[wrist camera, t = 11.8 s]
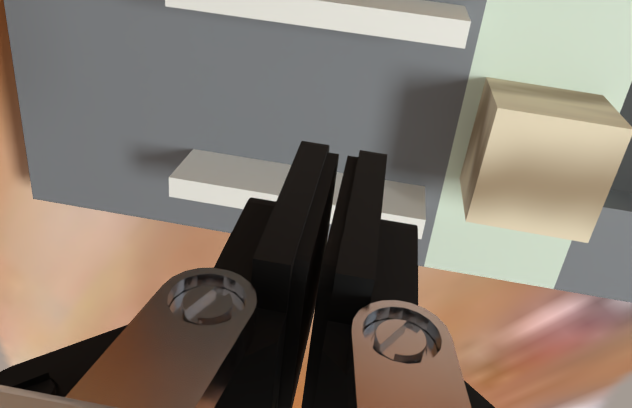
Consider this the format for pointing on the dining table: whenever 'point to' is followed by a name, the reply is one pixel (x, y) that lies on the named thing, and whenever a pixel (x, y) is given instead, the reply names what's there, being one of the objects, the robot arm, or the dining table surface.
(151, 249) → the dining table surface
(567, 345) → the dining table surface
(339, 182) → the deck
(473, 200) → the birch block
